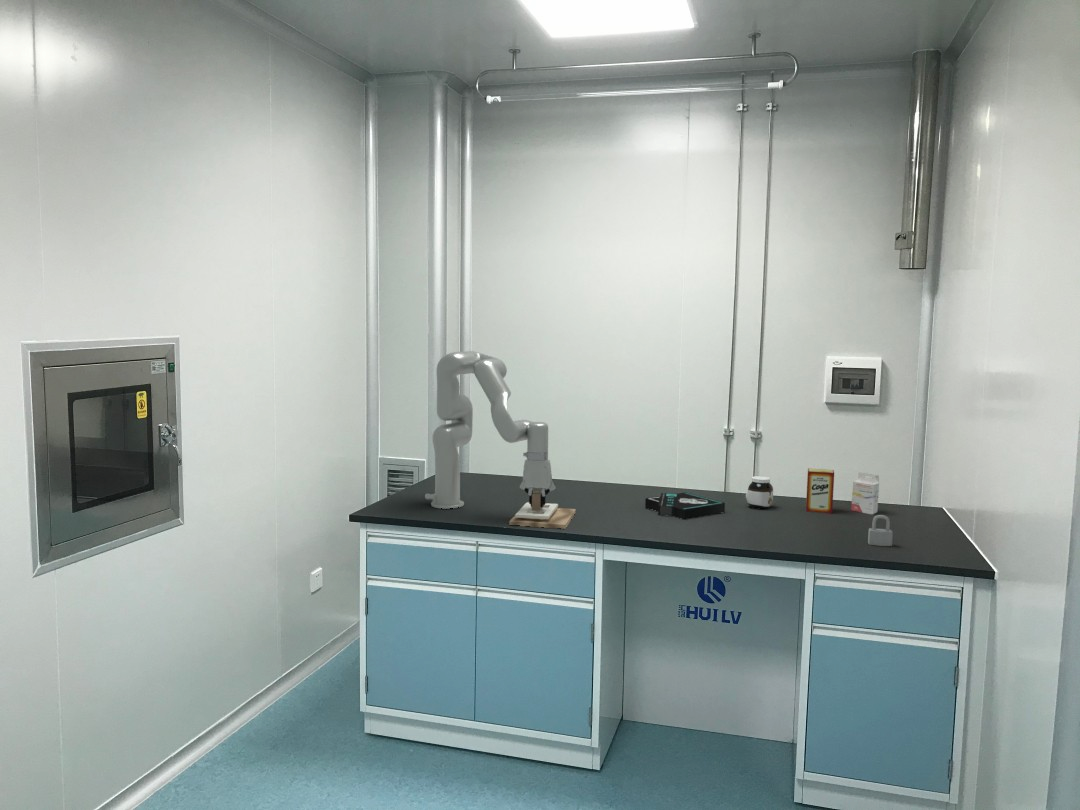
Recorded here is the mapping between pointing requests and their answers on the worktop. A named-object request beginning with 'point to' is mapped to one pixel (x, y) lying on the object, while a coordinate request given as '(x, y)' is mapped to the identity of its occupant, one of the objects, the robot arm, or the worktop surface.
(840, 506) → the worktop surface
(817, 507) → the baking soda box
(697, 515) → the flat black box
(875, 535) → the padlock
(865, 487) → the ink cartridge box
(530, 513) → the panel
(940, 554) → the worktop surface
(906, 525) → the worktop surface
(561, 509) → the board
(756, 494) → the spread jar
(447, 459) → the robot arm
